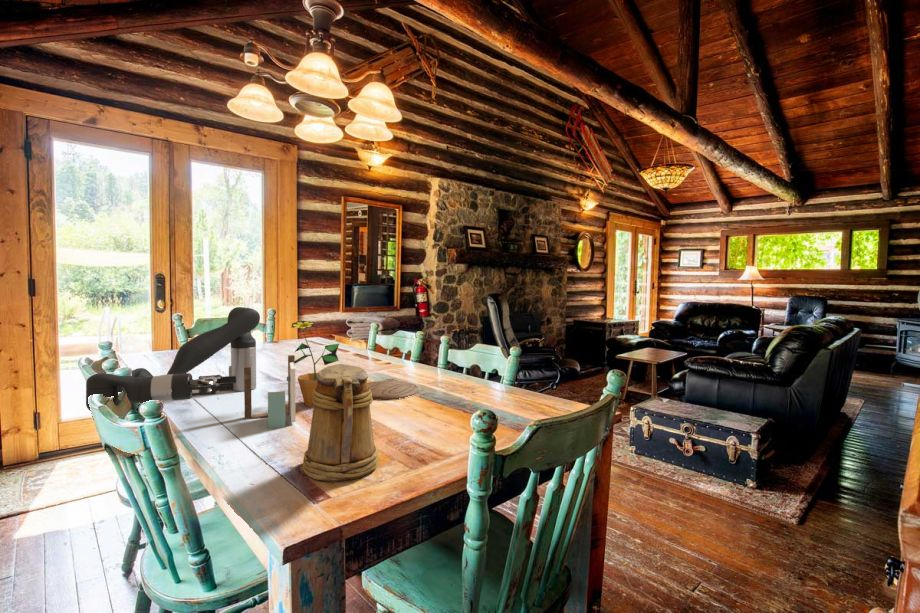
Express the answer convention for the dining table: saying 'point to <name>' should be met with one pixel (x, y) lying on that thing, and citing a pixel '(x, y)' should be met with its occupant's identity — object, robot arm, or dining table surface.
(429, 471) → the dining table surface
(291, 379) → the cream door
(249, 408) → the door frame
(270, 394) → the teal block
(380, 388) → the trivet
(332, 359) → the potted plant
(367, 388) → the tankard
